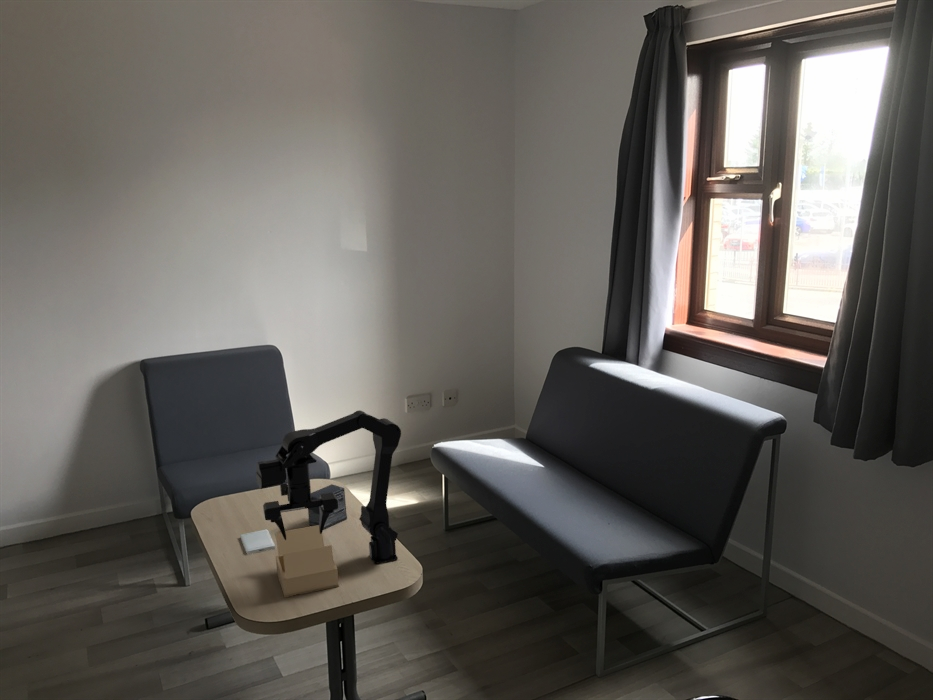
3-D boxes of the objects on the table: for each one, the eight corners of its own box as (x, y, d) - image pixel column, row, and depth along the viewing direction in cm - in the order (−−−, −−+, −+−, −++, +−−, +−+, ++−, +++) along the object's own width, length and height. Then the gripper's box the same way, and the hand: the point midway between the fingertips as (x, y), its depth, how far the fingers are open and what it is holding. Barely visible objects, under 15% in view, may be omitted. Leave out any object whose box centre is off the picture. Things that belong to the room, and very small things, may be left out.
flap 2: (285, 578, 198) (286, 579, 198) (282, 554, 199) (283, 554, 199) (334, 569, 202) (334, 569, 202) (331, 545, 203) (331, 545, 203)
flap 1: (324, 546, 215) (324, 547, 216) (320, 524, 218) (320, 524, 218) (278, 555, 211) (278, 555, 211) (275, 532, 213) (275, 532, 214)
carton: (328, 563, 217) (327, 546, 216) (338, 586, 204) (337, 568, 203) (277, 573, 212) (275, 556, 211) (284, 597, 199) (282, 579, 198)
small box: (334, 514, 249) (331, 483, 247) (347, 519, 245) (345, 487, 243) (308, 525, 241) (305, 493, 239) (321, 531, 237) (319, 498, 235)
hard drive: (240, 534, 234) (246, 551, 223) (267, 528, 237) (275, 545, 226) (240, 539, 234) (247, 556, 223) (268, 533, 238) (275, 550, 226)
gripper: (329, 465, 213) (333, 518, 217) (259, 475, 207) (264, 530, 211) (336, 479, 203) (340, 535, 206) (262, 490, 197) (267, 547, 200)
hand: (303, 536), depth 206 cm, fingers open, 9 cm apart
